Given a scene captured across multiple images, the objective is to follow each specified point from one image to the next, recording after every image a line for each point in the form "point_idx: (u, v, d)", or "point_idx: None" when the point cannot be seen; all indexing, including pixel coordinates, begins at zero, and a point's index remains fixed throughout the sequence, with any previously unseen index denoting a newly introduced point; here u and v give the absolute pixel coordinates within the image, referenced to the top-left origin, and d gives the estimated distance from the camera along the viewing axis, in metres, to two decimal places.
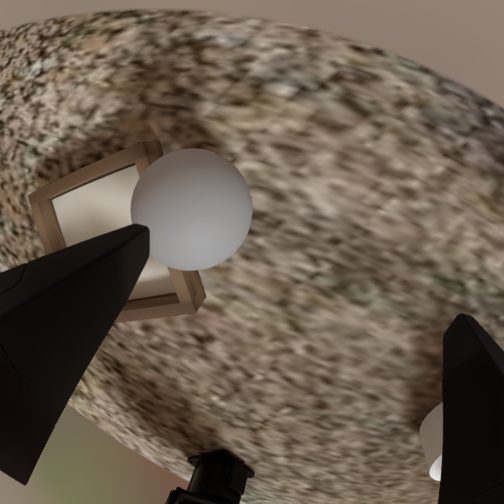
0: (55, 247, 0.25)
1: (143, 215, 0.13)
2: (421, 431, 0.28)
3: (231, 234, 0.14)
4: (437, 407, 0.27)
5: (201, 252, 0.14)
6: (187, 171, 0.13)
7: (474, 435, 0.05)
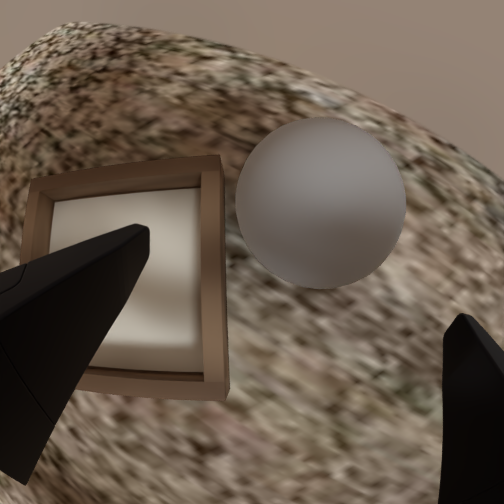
0: (35, 258, 0.17)
1: (298, 150, 0.09)
2: None
3: (399, 224, 0.09)
4: None
5: (370, 229, 0.09)
6: (360, 128, 0.10)
7: (474, 435, 0.05)
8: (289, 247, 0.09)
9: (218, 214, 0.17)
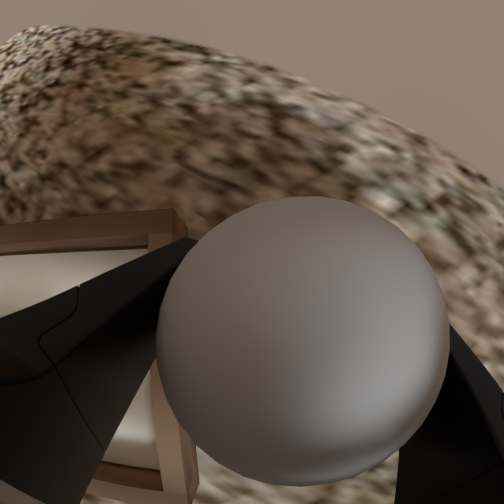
0: None
1: (245, 322, 0.04)
2: None
3: (431, 407, 0.05)
4: None
5: (379, 454, 0.04)
6: (386, 232, 0.05)
7: (430, 434, 0.05)
8: (233, 467, 0.05)
9: None
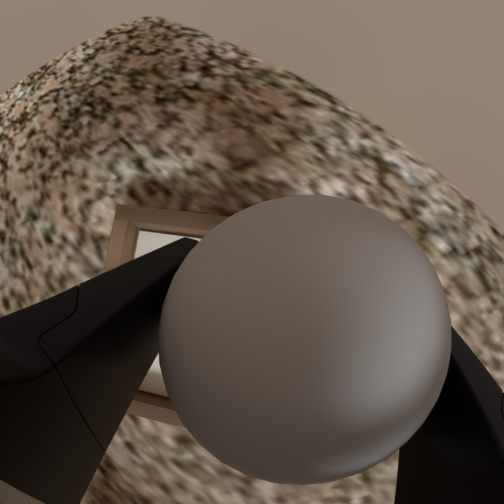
0: None
1: (249, 320, 0.04)
2: None
3: (433, 405, 0.05)
4: None
5: (381, 451, 0.04)
6: (388, 230, 0.05)
7: (430, 434, 0.05)
8: (235, 465, 0.05)
9: None
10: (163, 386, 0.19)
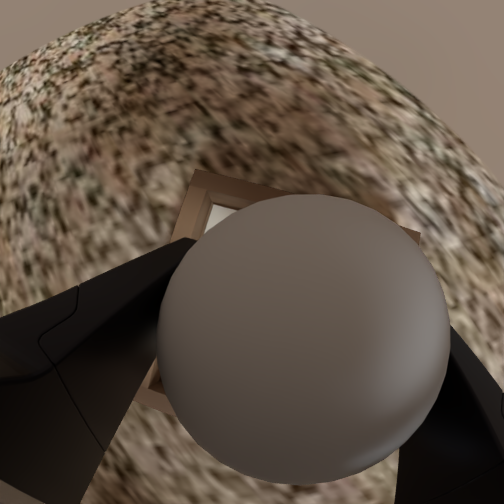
0: None
1: (247, 320, 0.04)
2: None
3: (432, 405, 0.05)
4: None
5: (380, 451, 0.04)
6: (387, 230, 0.05)
7: (430, 434, 0.05)
8: (234, 465, 0.05)
9: None
10: None
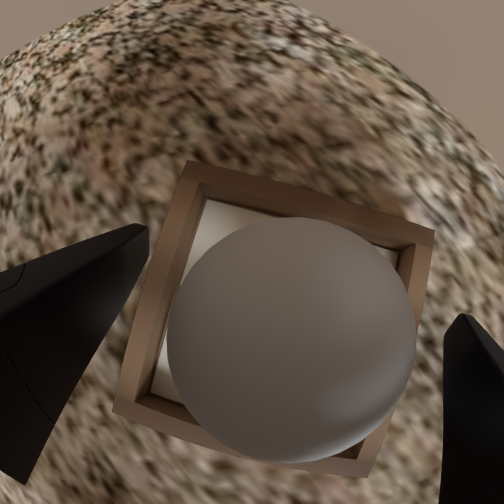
0: (172, 270, 0.15)
1: (242, 325, 0.05)
2: None
3: (400, 395, 0.06)
4: None
5: (353, 432, 0.05)
6: (357, 250, 0.06)
7: (475, 435, 0.05)
8: (234, 445, 0.06)
9: (423, 298, 0.14)
10: None
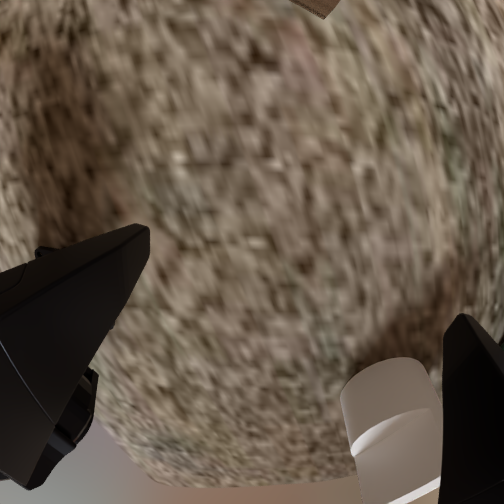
0: None
1: None
2: (357, 380, 0.26)
3: None
4: (392, 360, 0.25)
5: None
6: None
7: (474, 435, 0.05)
8: None
9: None
10: None
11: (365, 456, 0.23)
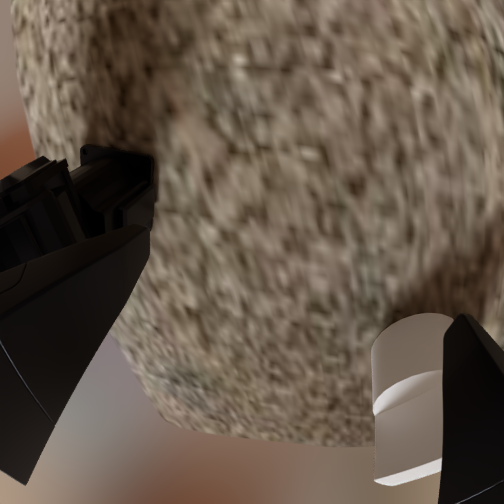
0: None
1: None
2: (392, 330, 0.24)
3: None
4: (431, 314, 0.23)
5: None
6: None
7: (474, 435, 0.05)
8: None
9: None
10: None
11: (387, 416, 0.22)
